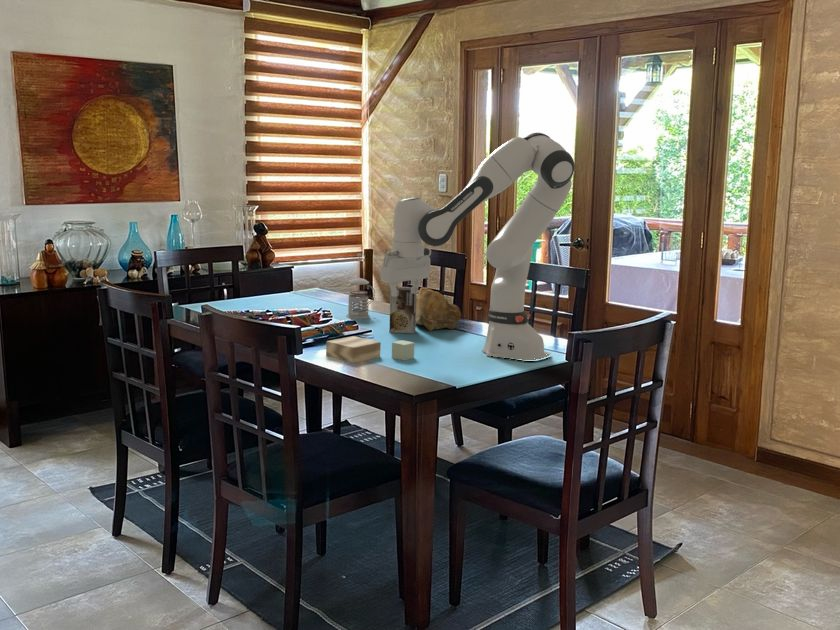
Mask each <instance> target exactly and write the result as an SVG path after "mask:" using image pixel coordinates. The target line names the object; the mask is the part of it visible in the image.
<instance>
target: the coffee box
mask: <svg viewBox="0 0 840 630" xmlns="http://www.w3.org/2000/svg"><path fill="white" fill-rule="evenodd" d="M411 287H412V286H396V288H397V291H399V293H398V294H399V295H398V296H396V297H393V296H391V289H390V288H389V290H390V291H389V295H390V298H389V333H392V334H393V333H395V334H415V333H416V323H415V322H416V302H417V293H416V294H413V293H411Z"/></svg>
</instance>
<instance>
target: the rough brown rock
mask: <svg viewBox="0 0 840 630" xmlns="http://www.w3.org/2000/svg"><path fill="white" fill-rule="evenodd" d="M461 318H462V312H461V310H460V307H459V306H458V305H456V304H454V303H450V302H449V301H448V299H446V297H445V296H444V295H443V294H442V293H441V292H439V291H435V290H433V289H430V288H429V287H424V286H423V287H422V286H421V287H420V288H419V290H418V293H417V297H416V322H415V324H418V325H420V326H424V327H425V328H426V329H427V330H428V331H433V330H441V329H444V328H446V329H448V330H454V329H455V328H456V327H457V324H458V322H459V320H460V319H461Z"/></svg>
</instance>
